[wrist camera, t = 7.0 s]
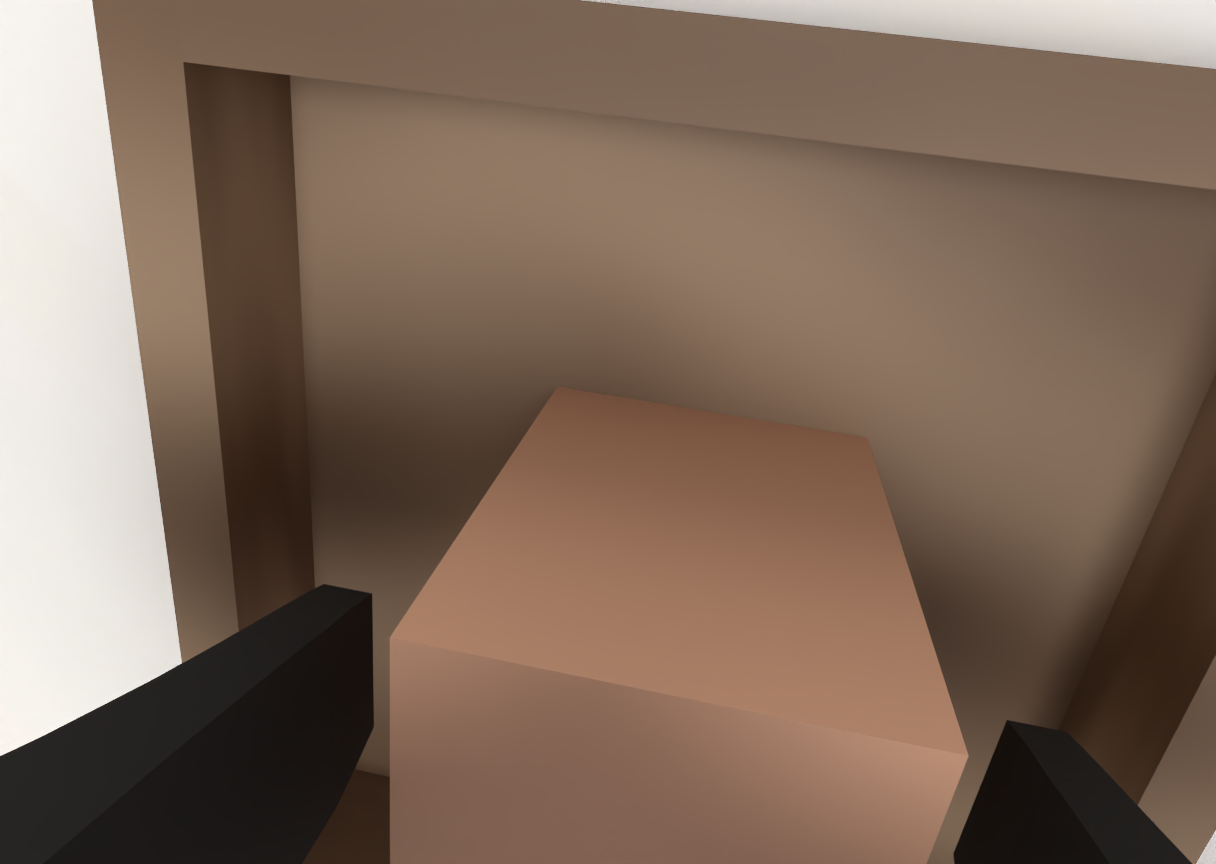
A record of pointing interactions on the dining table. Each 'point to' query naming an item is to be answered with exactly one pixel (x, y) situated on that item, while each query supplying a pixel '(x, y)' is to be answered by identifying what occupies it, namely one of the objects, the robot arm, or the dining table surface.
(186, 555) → the walnut tray
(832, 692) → the terracotta block
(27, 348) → the dining table surface
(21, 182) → the dining table surface
